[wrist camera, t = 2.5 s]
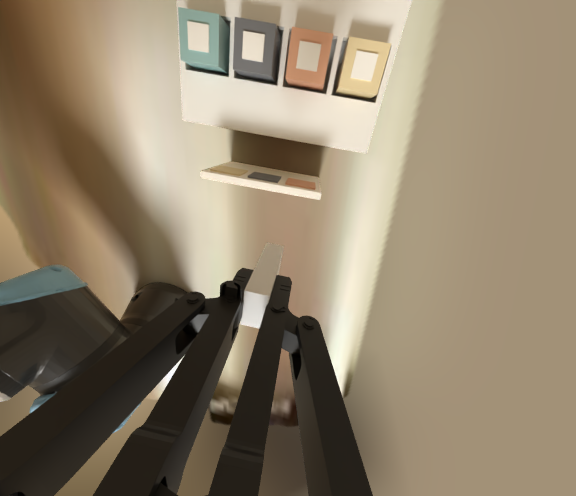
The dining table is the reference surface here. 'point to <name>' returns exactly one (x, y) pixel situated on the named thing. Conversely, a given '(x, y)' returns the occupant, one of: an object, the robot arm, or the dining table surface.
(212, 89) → the keypad
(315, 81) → the key
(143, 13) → the dining table surface
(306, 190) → the placard
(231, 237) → the dining table surface
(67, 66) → the dining table surface
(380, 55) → the key
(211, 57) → the key
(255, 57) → the key
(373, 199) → the dining table surface
